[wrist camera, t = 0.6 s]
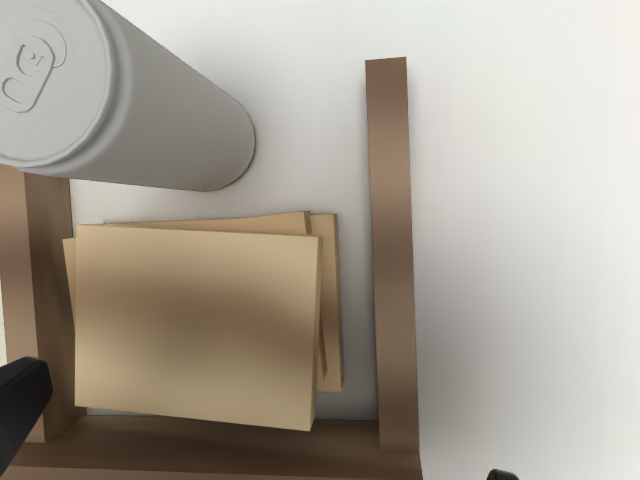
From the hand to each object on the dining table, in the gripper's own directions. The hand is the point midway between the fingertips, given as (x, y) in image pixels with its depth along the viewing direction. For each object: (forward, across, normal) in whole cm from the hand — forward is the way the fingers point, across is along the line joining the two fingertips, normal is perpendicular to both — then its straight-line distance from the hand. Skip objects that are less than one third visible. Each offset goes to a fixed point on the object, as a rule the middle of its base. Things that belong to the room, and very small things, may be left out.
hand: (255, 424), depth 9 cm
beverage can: (+15, +7, 0) cm, 17 cm away
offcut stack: (+12, +6, +7) cm, 15 cm away
